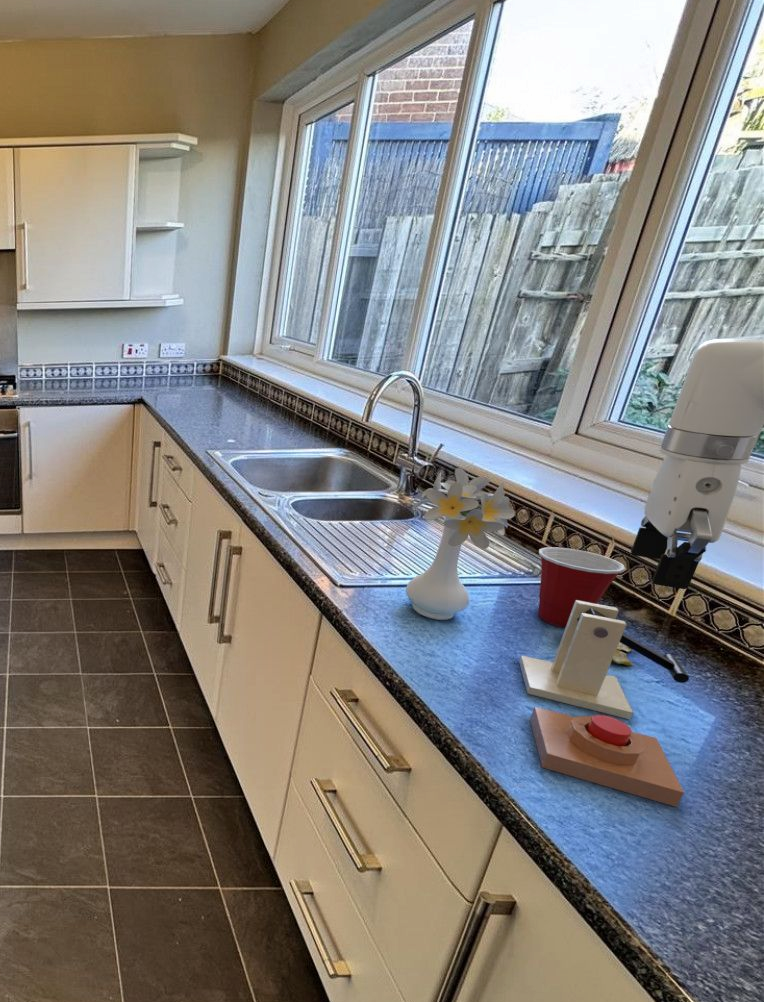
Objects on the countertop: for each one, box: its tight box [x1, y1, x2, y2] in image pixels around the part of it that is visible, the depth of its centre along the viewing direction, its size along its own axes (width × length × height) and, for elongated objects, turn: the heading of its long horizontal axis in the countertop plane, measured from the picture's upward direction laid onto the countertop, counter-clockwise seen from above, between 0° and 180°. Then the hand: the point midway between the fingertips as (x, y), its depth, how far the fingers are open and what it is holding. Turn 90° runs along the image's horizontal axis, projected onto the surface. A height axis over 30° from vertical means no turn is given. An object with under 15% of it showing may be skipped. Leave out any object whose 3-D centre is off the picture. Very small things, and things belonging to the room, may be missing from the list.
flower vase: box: [405, 467, 516, 621], centre depth 104 cm, size 13×18×25 cm
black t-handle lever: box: [577, 608, 690, 684], centre depth 83 cm, size 12×5×2 cm, turn 59°
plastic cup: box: [538, 546, 626, 629], centre depth 104 cm, size 11×11×12 cm
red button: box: [587, 714, 633, 746], centre depth 75 cm, size 4×4×2 cm
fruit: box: [612, 642, 634, 666], centre depth 97 cm, size 8×8×4 cm
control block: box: [529, 706, 685, 808], centre depth 75 cm, size 12×10×4 cm
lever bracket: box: [518, 600, 634, 720], centre depth 86 cm, size 11×9×13 cm
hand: (656, 570), depth 81 cm, fingers open, 9 cm apart
